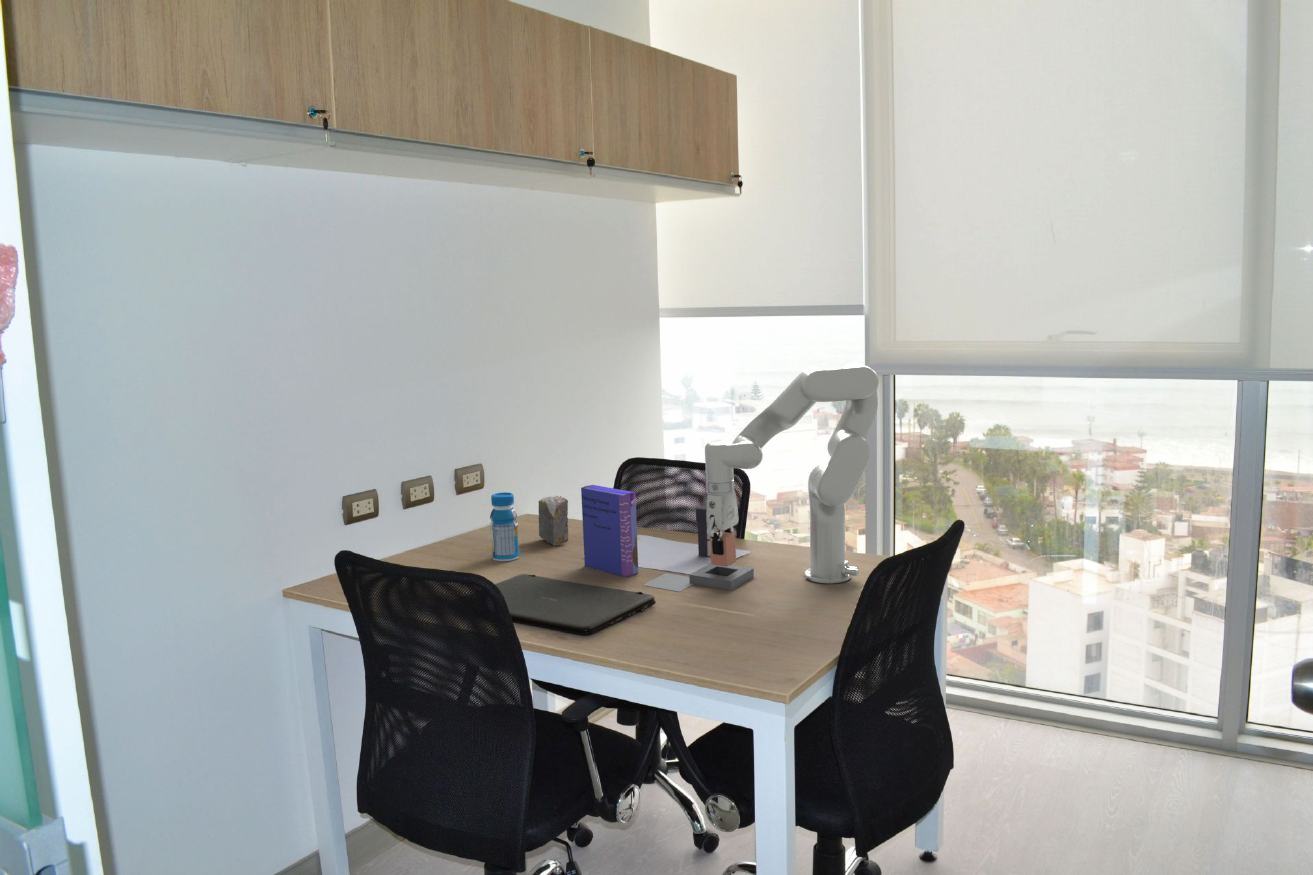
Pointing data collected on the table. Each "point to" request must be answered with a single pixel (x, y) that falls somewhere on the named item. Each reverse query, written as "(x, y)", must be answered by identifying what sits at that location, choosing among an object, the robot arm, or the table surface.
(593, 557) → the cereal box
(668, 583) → the mat
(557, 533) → the geological specimen
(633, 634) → the table surface
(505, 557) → the beverage bottle
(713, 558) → the block
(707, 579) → the pocket tray
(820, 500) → the robot arm
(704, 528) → the grey and red box
